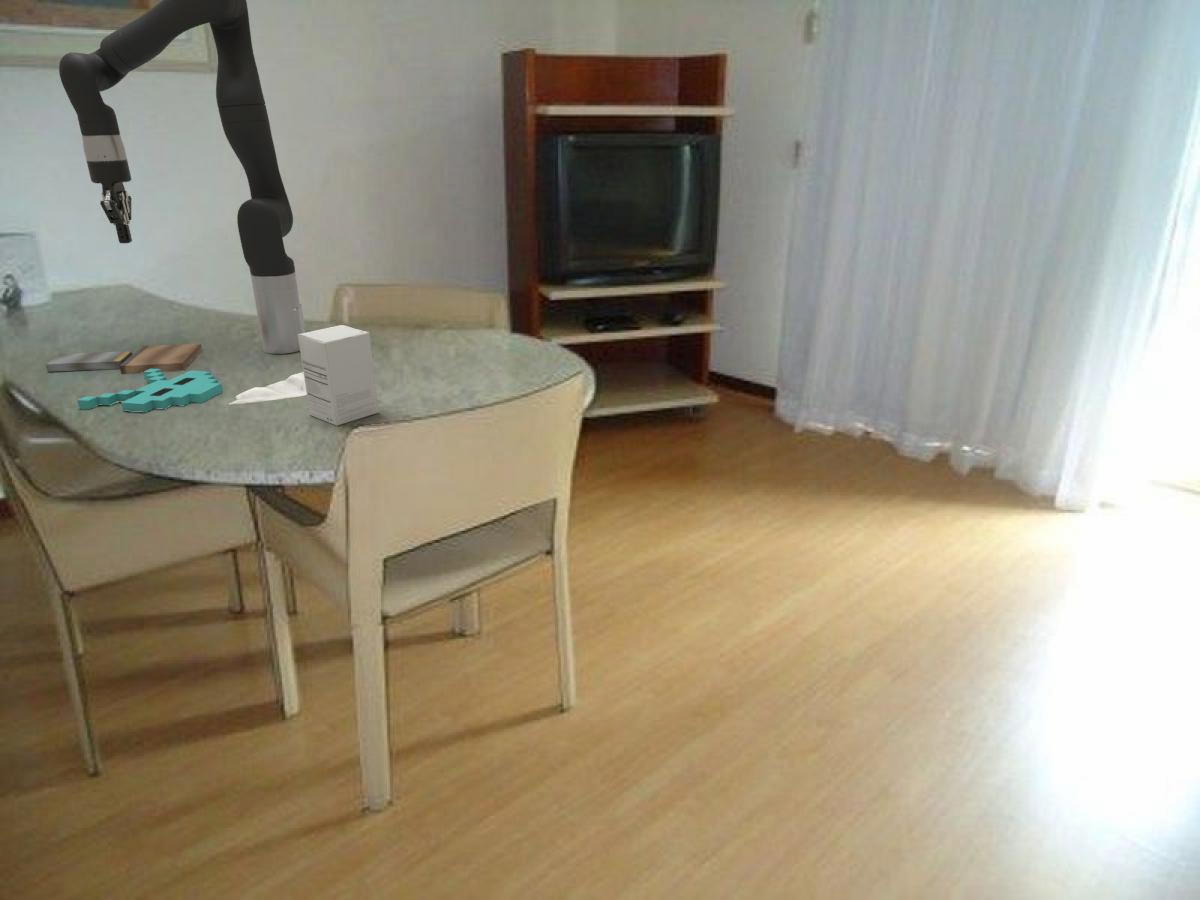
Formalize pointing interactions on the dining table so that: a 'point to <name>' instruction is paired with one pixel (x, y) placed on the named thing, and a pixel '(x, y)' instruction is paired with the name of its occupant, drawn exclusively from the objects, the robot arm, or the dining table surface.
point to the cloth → (274, 391)
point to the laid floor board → (161, 358)
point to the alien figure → (161, 392)
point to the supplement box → (338, 374)
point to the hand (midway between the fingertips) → (126, 242)
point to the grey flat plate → (88, 361)
